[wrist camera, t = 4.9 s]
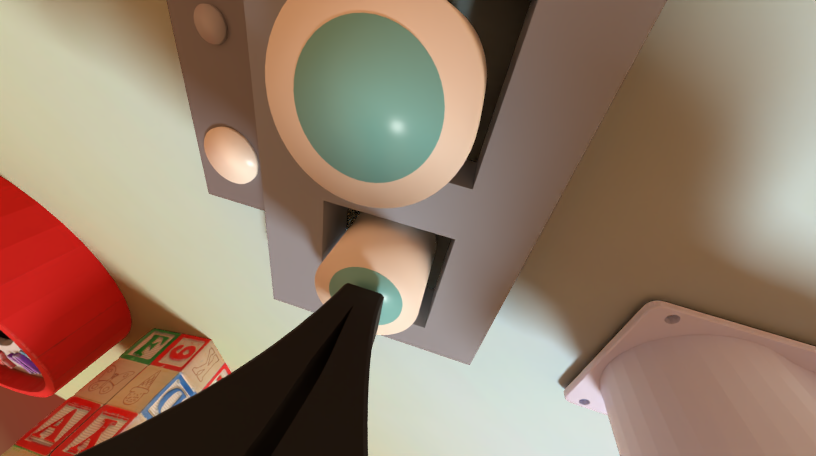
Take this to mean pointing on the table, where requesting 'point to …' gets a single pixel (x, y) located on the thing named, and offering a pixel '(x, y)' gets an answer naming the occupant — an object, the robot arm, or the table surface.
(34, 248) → the toy clock
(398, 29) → the button
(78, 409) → the stack of blocks
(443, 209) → the button board
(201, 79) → the pattern tile
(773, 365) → the robot arm
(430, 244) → the button
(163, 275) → the table surface
